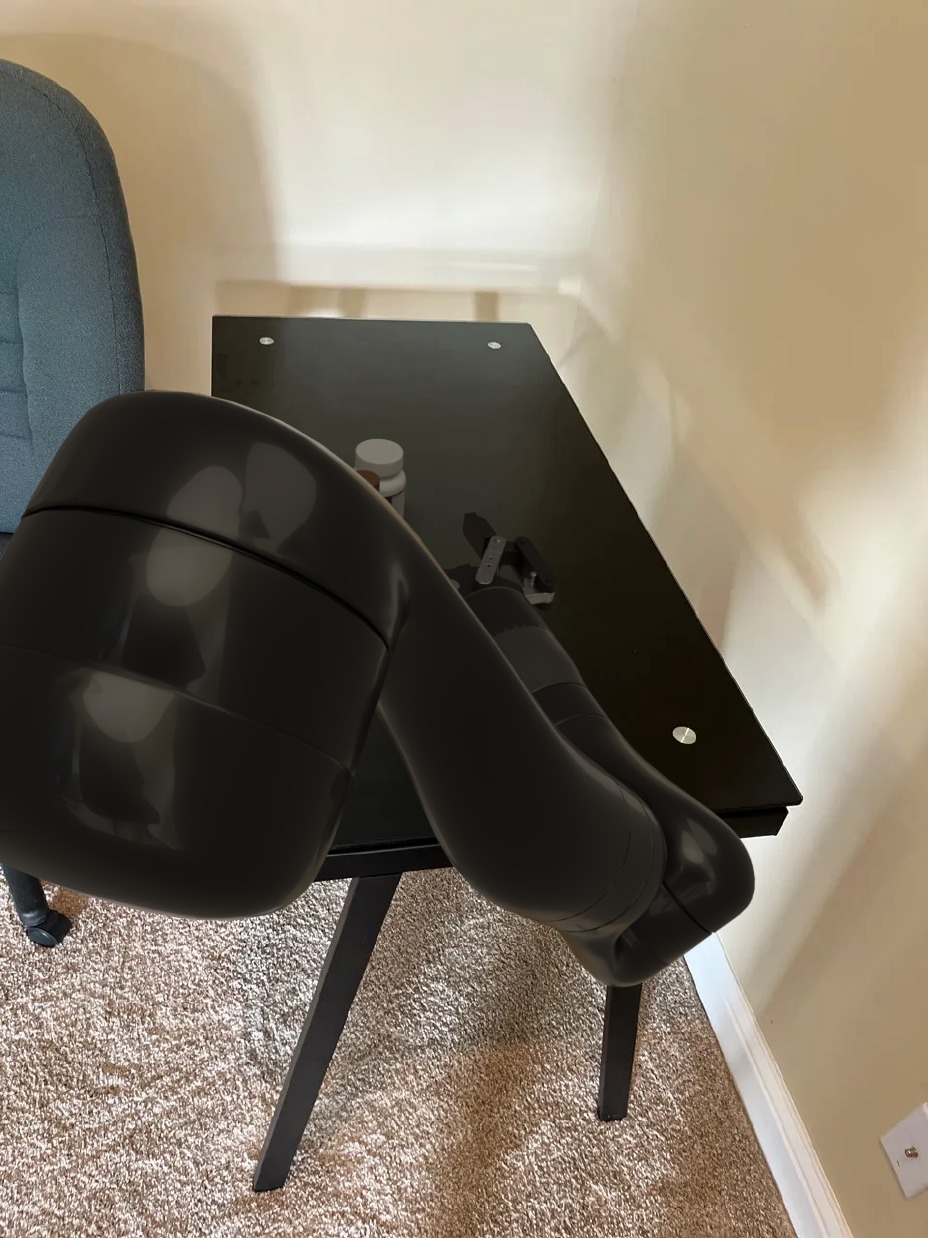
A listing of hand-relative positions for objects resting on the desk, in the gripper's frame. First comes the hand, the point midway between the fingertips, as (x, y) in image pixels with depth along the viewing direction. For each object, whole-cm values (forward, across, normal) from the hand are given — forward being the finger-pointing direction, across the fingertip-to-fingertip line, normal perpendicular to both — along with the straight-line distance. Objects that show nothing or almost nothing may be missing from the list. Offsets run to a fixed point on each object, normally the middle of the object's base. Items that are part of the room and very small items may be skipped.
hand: (417, 529), depth 64 cm
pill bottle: (+25, -6, +20) cm, 32 cm away
